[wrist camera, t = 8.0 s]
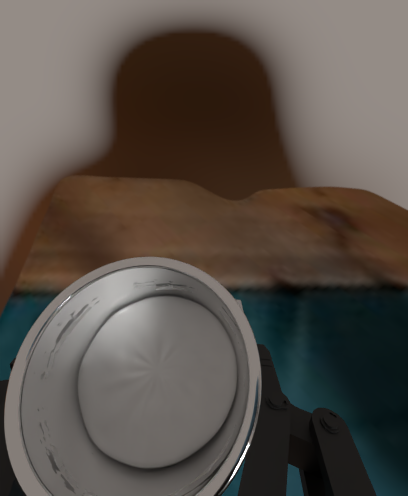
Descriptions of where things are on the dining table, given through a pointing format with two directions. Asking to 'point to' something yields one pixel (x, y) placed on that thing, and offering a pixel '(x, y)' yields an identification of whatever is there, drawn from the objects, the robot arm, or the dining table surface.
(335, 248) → the dining table surface
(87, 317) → the silver metal cup
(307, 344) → the dining table surface
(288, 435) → the robot arm
